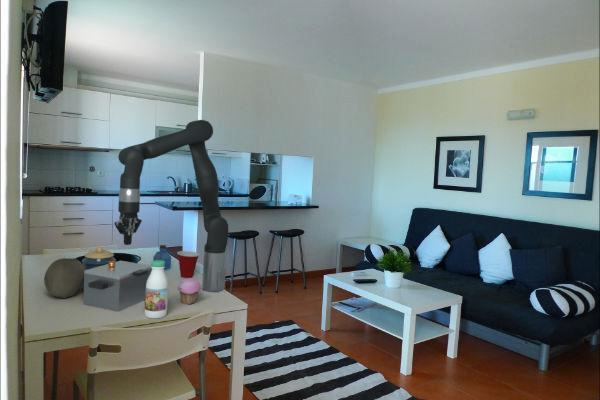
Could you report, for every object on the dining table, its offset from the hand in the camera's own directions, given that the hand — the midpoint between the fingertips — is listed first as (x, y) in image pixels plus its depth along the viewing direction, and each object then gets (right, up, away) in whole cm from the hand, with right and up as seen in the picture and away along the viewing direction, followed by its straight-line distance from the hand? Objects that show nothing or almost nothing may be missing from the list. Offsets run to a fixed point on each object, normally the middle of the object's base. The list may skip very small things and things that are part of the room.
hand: (127, 244), depth 159 cm
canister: (-20, -20, +17) cm, 33 cm away
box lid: (-2, -11, +1) cm, 11 cm away
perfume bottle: (-5, -18, +54) cm, 57 cm away
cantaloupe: (-26, -21, +3) cm, 33 cm away
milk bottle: (+14, -25, -9) cm, 30 cm away
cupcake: (+22, -24, +6) cm, 33 cm away
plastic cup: (+11, -21, +43) cm, 49 cm away
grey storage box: (-5, -22, +1) cm, 23 cm away
